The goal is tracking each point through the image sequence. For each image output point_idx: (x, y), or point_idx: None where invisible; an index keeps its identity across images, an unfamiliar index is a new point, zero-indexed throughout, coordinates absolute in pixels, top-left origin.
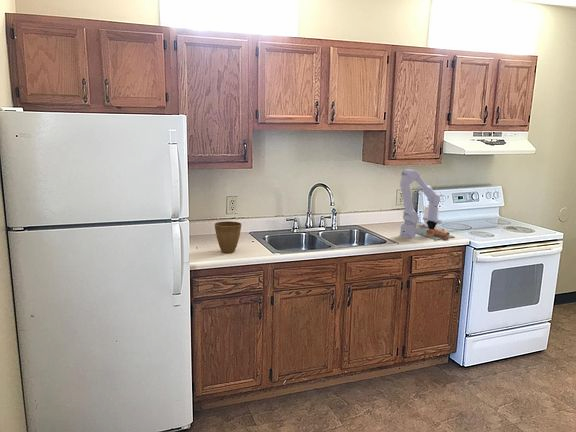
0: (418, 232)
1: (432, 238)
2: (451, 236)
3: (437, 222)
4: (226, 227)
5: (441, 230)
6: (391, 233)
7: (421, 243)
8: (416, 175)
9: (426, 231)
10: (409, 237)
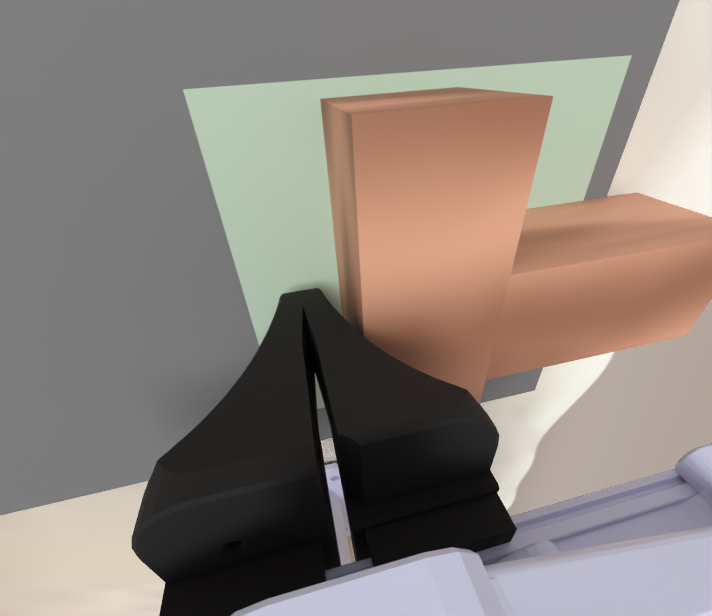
0: (126, 405)
1: (485, 391)
2: (630, 3)
3: (617, 524)
4: None
5: (566, 286)
6: (117, 585)
7: (500, 489)
8: None
9: (20, 234)
10: (346, 527)
